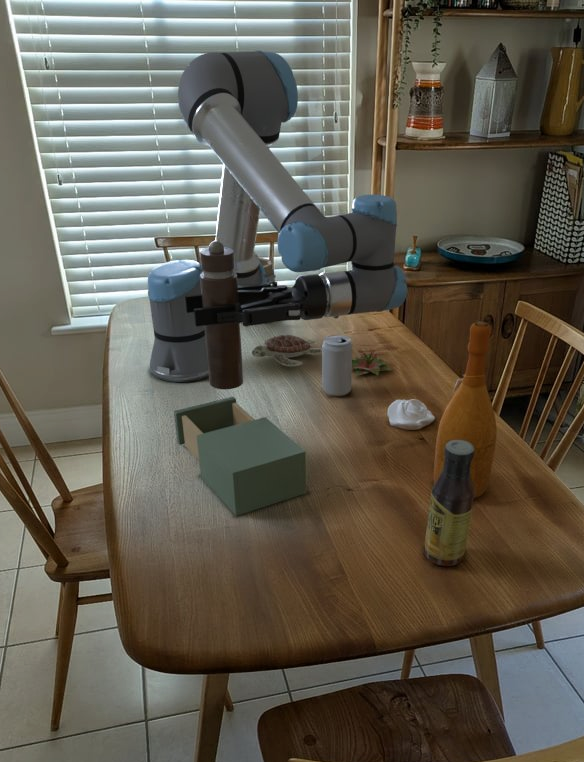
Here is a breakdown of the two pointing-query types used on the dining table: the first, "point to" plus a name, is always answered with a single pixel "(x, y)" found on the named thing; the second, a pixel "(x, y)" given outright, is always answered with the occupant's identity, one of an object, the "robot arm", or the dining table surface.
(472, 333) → the wine bottle
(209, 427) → the drawer
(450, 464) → the sauce bottle
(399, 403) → the rose
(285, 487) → the cabinet
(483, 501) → the dining table surface
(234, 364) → the pepper mill
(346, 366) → the beverage can
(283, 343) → the decorative turtle
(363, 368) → the lily flower
